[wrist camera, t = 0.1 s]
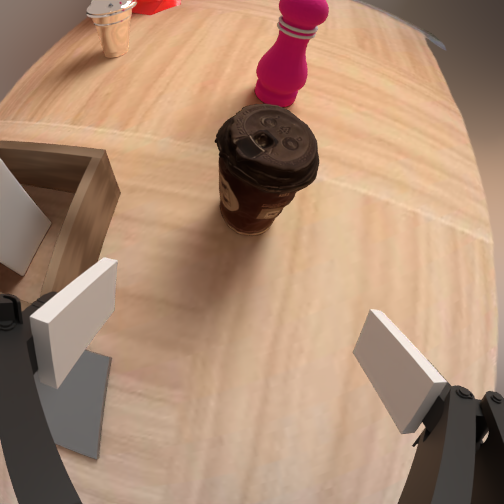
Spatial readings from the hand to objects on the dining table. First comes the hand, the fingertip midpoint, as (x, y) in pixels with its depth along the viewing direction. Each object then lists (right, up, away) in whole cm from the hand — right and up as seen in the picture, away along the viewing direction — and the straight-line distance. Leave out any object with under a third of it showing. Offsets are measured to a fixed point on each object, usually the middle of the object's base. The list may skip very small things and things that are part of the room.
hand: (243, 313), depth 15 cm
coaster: (-19, -11, +9) cm, 24 cm away
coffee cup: (0, +8, +20) cm, 21 cm away
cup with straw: (-24, +38, +27) cm, 52 cm away
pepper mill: (+4, +27, +27) cm, 38 cm away
